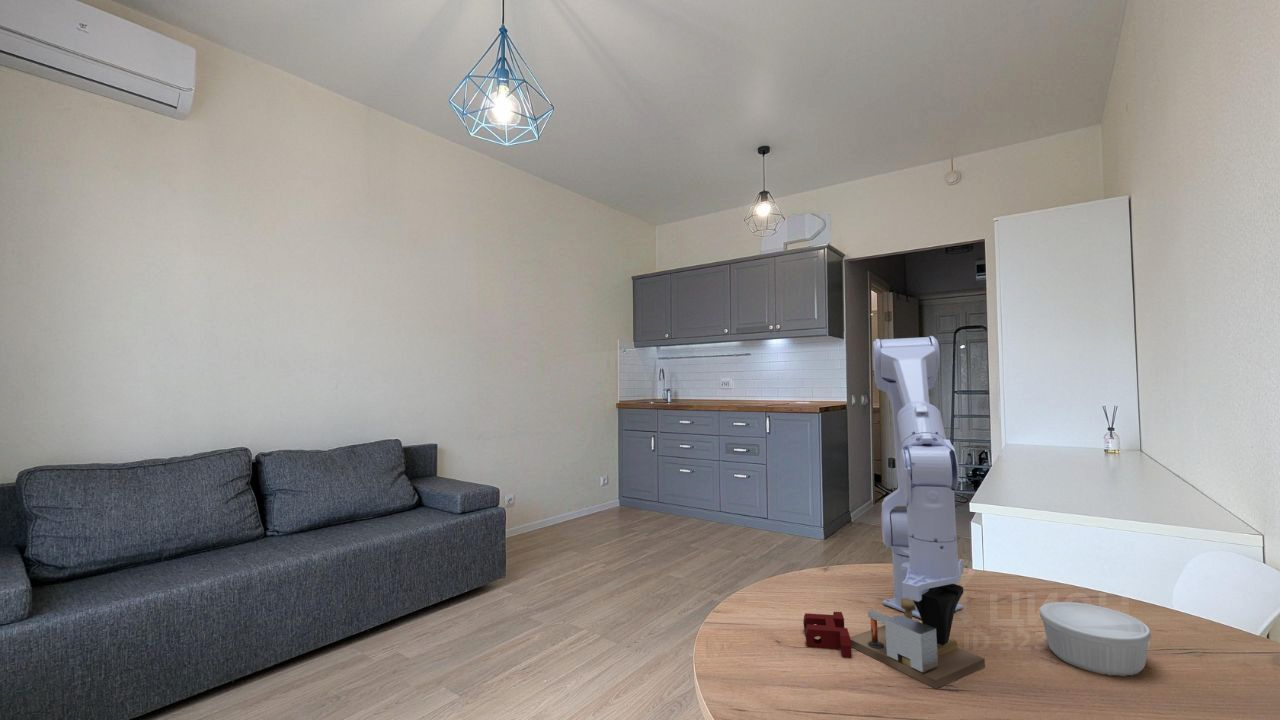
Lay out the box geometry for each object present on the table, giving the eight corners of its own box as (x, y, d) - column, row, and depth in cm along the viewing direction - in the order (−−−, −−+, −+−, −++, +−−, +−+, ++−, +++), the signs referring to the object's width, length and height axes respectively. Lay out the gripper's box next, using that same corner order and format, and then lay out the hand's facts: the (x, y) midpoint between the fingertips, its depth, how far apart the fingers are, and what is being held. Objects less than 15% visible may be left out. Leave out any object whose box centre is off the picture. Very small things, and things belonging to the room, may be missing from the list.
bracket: (850, 639, 73) (840, 609, 83) (806, 636, 74) (801, 607, 84) (851, 661, 73) (841, 628, 82) (807, 657, 74) (802, 626, 84)
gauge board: (985, 666, 70) (982, 622, 70) (936, 688, 65) (933, 641, 65) (895, 628, 81) (893, 591, 81) (847, 645, 76) (845, 605, 77)
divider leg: (938, 665, 68) (936, 628, 68) (922, 672, 66) (920, 634, 66) (879, 639, 75) (877, 605, 75) (864, 644, 74) (862, 610, 74)
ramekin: (1135, 692, 63) (1131, 645, 64) (1026, 654, 73) (1023, 614, 73) (1167, 664, 69) (1163, 621, 70) (1062, 632, 79) (1060, 595, 79)
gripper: (923, 521, 80) (929, 616, 80) (876, 541, 71) (881, 648, 70) (977, 530, 75) (983, 631, 74) (933, 553, 66) (939, 669, 65)
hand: (937, 641), depth 72 cm, fingers closed
